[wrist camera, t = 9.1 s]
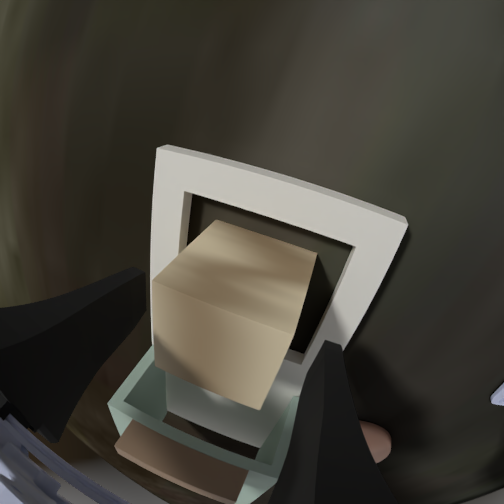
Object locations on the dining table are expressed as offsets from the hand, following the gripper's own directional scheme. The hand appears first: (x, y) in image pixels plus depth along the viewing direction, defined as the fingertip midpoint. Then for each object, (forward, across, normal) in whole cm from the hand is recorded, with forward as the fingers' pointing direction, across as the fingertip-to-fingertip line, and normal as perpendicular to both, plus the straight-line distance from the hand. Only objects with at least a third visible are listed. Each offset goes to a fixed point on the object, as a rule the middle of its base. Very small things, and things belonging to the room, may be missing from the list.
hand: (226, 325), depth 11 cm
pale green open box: (+2, 0, +10) cm, 11 cm away
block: (+3, 0, 0) cm, 3 cm away
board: (+3, 0, +5) cm, 6 cm away
